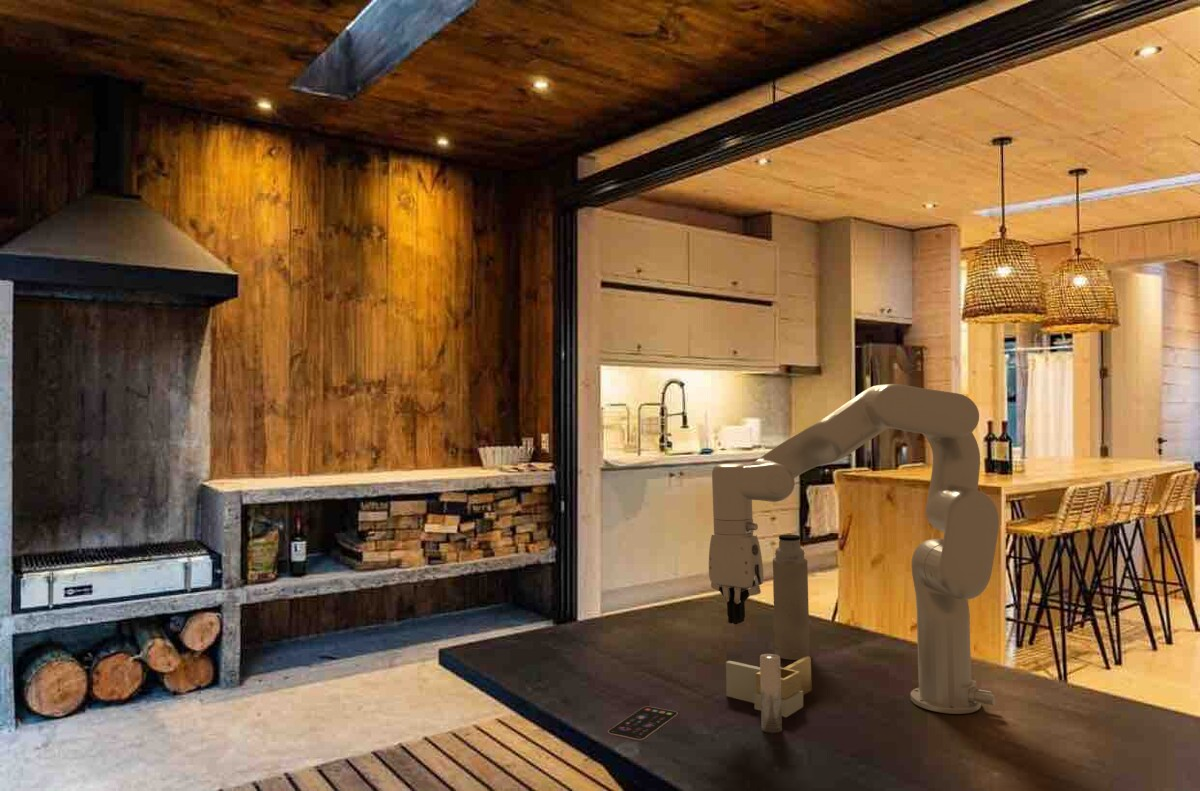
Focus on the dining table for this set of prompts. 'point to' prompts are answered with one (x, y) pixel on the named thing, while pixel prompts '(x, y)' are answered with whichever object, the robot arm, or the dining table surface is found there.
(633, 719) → the smartphone
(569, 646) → the dining table surface
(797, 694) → the loose leaf
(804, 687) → the fixed leaf
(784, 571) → the thermos bottle
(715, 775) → the dining table surface
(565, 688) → the dining table surface
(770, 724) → the pin
